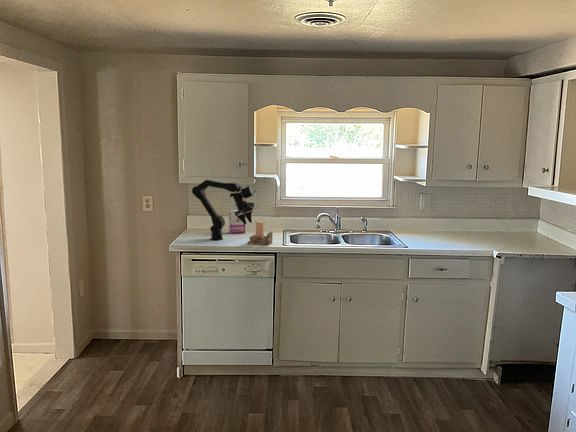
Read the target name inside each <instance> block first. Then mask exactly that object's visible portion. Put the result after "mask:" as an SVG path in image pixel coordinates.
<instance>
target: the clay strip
mask: <svg viewBox="0 0 576 432" xmlns="http://www.w3.org/2000/svg"><path fill="white" fill-rule="evenodd" d="M255 235H256V237H264V236H265V222H264V221H255Z"/></svg>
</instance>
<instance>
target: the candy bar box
mask: <svg viewBox="0 0 576 432" xmlns="http://www.w3.org/2000/svg"><path fill="white" fill-rule="evenodd" d="M237 210H238V209H237ZM237 210H234V209H231V210H228V234H230V235H233V234H234V235H237V234H246V224H244V223H243V222H242V221H241V220H240V219H239V218H238V217H236V216H235V214H234V213H235V212H236V211H237ZM243 214H244V213H243Z"/></svg>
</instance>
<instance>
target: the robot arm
mask: <svg viewBox="0 0 576 432" xmlns="http://www.w3.org/2000/svg"><path fill="white" fill-rule="evenodd" d="M208 187H212V188H218V189H222V190H226V191H228V192H231V193H230V194H229V197H230V198H233V200H234V202H235V204H234V206H235V207H237V211H236V212H235V213H234V214H235V216H236V217H238V218H239V219H240V220H241V221H242V222H243V223H244V224H245V225H247V221H248V223H250V224H252V220H253V219H252V213H253V211H254V208H255V202H249V201H247V200H244V199H248V198H251V197H253V196H254V190H253V189H252V188H251V186H250V185H249V186H246V187H244V188H243V187H241V186H240V184H239V183H238V182H223V181H222V182H221V181H215V180H212V179H206V180H203V182H201V183H200V184H198V185H195V186H193V187H192V189H191V193H192V195H194V196H195V197H196V198H197V199H198V200H199V201H200V203H201V204H202V205H203V207H204V209H205V210H206V212H207V213H208V215H209V216H210V218H211V223H212V225H211V227H210V228H209V229H210V231H211V233H210V235H211V237H210V238H209V240H212V241H221V240H224V237H223V233H222V229H223V228H224V227H225V225H226V220H225V219H224V217H223V215H219V214H218V213H217V211H216V210H215V208H214V207H213V205H212V204H211V202H210V200H209V199H208V198H207V196H206V191H205V190H206V189H207V188H208ZM243 213H244V214H243ZM246 219H247V220H246Z"/></svg>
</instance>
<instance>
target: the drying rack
mask: <svg viewBox="0 0 576 432" xmlns="http://www.w3.org/2000/svg"><path fill="white" fill-rule="evenodd" d="M247 244H248V245H258V246H259V245H260V246H270V245H271V244H273V231H270V232H268V233H267V234H266V235H264V237H256V234H252V235H250V236H249V241H247Z"/></svg>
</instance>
